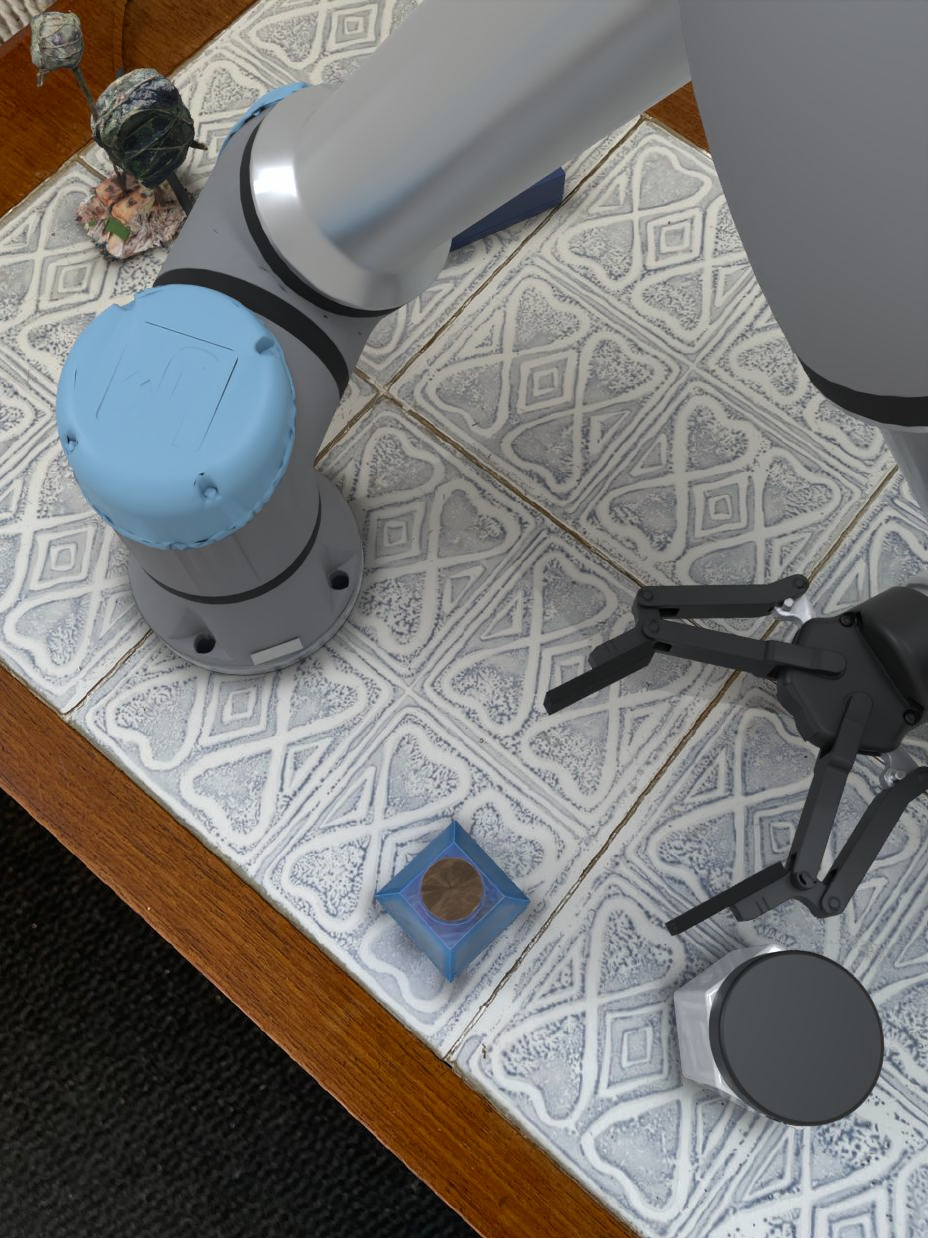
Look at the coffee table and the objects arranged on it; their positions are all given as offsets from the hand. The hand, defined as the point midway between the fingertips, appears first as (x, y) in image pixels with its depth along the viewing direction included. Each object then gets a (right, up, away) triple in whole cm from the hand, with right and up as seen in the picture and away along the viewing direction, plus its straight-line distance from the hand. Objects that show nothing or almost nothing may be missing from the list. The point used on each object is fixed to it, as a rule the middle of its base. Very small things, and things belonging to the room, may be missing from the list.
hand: (607, 813), depth 61 cm
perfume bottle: (-8, -7, +8) cm, 13 cm away
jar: (+9, -14, +5) cm, 17 cm away
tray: (-9, +45, +25) cm, 52 cm away
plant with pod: (-31, +41, +24) cm, 57 cm away
